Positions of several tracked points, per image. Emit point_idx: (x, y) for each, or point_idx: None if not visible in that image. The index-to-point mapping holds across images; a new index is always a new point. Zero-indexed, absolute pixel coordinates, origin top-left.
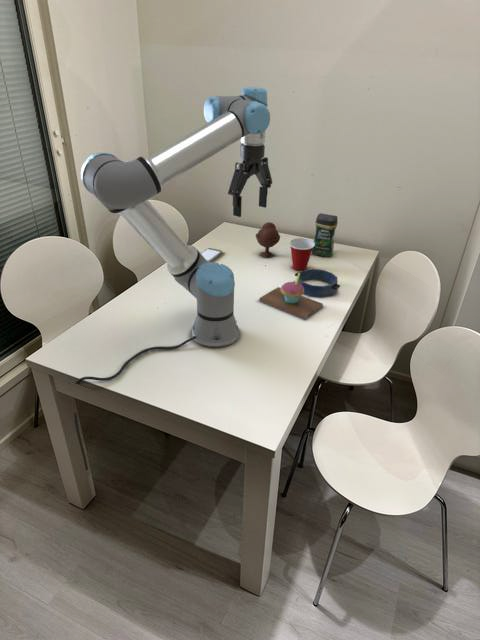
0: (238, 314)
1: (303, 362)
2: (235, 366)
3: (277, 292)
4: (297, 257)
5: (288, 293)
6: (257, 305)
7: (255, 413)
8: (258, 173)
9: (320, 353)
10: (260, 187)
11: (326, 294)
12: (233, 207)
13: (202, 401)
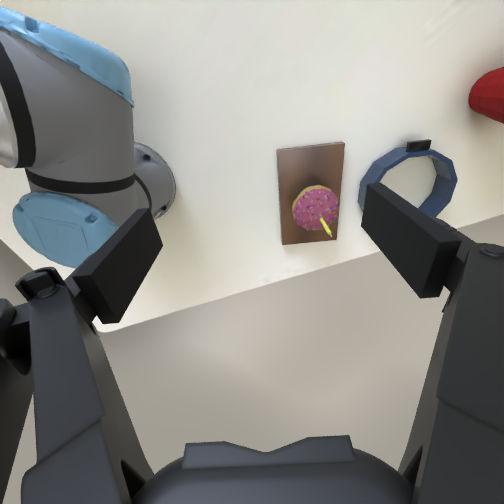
0: (209, 158)
1: (201, 292)
2: None
3: (321, 159)
4: (492, 101)
5: (294, 216)
6: (261, 158)
7: None
8: (408, 453)
9: (231, 293)
10: (436, 249)
11: None
12: (118, 229)
13: (61, 270)
